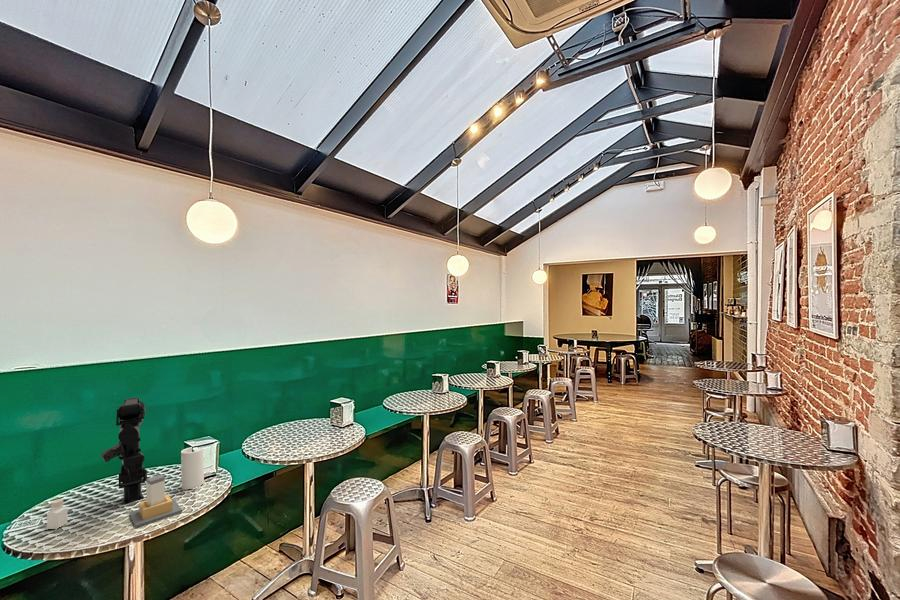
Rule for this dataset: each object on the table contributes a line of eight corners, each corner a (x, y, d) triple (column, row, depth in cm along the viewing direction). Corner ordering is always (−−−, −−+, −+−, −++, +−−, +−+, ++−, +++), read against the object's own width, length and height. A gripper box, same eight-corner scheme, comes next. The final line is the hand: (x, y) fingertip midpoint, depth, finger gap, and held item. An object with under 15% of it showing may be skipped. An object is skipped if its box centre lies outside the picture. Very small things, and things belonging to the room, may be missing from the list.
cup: (208, 482, 173) (207, 446, 173) (190, 491, 165) (190, 453, 165) (195, 480, 175) (194, 445, 176) (177, 488, 168) (176, 451, 168)
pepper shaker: (68, 523, 142) (68, 497, 142) (57, 530, 138) (57, 503, 138) (57, 524, 142) (56, 498, 142) (46, 530, 138) (45, 503, 138)
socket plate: (129, 514, 147) (129, 503, 147) (173, 500, 157) (173, 489, 157) (135, 528, 137) (135, 515, 137) (182, 512, 147) (182, 500, 147)
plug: (146, 512, 146) (146, 478, 147) (160, 507, 150) (159, 474, 150) (151, 515, 144) (150, 481, 144) (165, 509, 148) (164, 477, 148)
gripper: (99, 437, 151) (100, 477, 151) (105, 447, 139) (105, 491, 138) (136, 430, 159) (136, 468, 159) (144, 439, 147) (145, 480, 146)
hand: (130, 476), depth 150 cm, fingers open, 9 cm apart
